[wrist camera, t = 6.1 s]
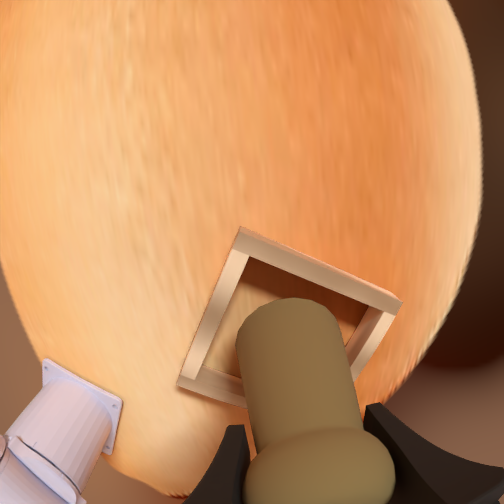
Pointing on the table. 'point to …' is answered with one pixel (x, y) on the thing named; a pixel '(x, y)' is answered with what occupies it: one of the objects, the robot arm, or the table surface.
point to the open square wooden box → (304, 266)
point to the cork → (306, 412)
